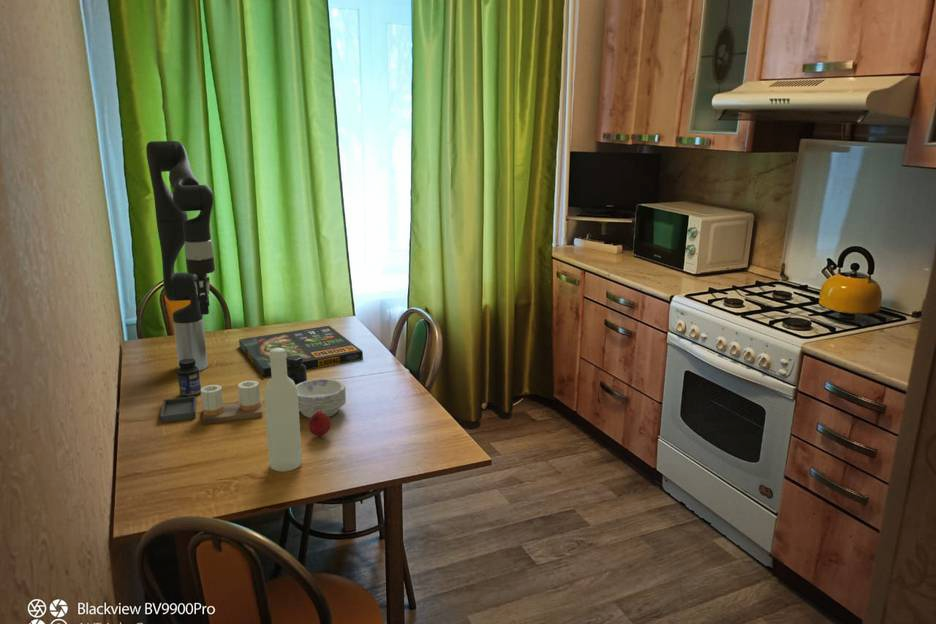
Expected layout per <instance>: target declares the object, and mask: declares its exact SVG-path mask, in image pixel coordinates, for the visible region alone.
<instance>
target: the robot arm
mask: <svg viewBox="0 0 936 624" xmlns="http://www.w3.org/2000/svg"><path fill="white" fill-rule="evenodd" d="M145 151H146V152H145V153H146V159H147V165H148V169H149V176H150V181H151V186H152V190H153V191H152V193H153V198H154V199H153V200H154V206H155V207H154V209H155V219H156V226H157V233H158V240H159V246H160V252H161V261H162V279H163V289H164V295H165V297H166V299H167V300H168V301H170V302H178V301H179V302H180V301H189V302H190V303H189V304H188V305H186V306H184V307H182V308H179V309H177V310H175V311H174V312H173V313H172V321H173V330H174V338H175V345H176V354H177V364H178V369H179V368H180V366H179V361H180V360H183V359H188V358H192V359H195V362H196V364H195V366H196V367H198V369H199V372H200V371H203V370H205V369H206V368H207V367H208V366H209V365H208V352H207V345H206V335H205V327H204V318H203V315H208V314H210V311H209V306H210V298H209V294H210V289H211V288H210V287H211V285H210V283H211V279H210V276H208V274H212V273H213V272H215V271H216V268H215V259H214V256H215V255H214V248H213V247H214V246H213V243H212V237H211V236H212V235H211V227H210V225H211V214H212V211H213V206H214V197H215V196H214V192H213V190H212V189H211V187H210V186H208V185H206V184H200V183H199V180H198V178H196V176H195V173H194V172H193V170H192V166H191V162H190V159H189V155H188V153H187V150H186V148H185V146H184V145H183V144H182V142H180V141H176V140H161V141H159V140H156V141H154V140H153V141H149V142H147V144H146V149H145ZM164 172H165V173H166V172H170V173H169V176H168V179H169V183H170V185H171V187H172V189H173V193H172V191H171V190H170V189H169V187H168V186H167V184H166V182H165V180H164V178H163V175H162V173H164ZM196 211H197V212H198V211H199V214H198V215H197V216H195V217H194V218H190V219H188V217H189V216H188V212H196ZM183 247H184V257H185V265H186V266H185V267H186V272H175V266H176V265H175V264H176V260H177V259H178V256H179V254H180V253H181V251H182V248H183Z"/></svg>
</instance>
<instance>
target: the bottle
mask: <svg viewBox="0 0 936 624" xmlns="http://www.w3.org/2000/svg"><path fill="white" fill-rule="evenodd" d="M286 356H287V354H286V350H285V349H283V348H274V349H272V350H270V356H269V358H270V362H271V375H272V376H271V378H270V379H269V380H268V381H267V382H266V384H265V387H264V391H263V398H264V400H263V402H264V409H265V411H264V413H265V424H266V435H267V447H268V462H269V467H270V469H271V470H273V471H275V472H281V473H282V472H291V471H293V470H296V469H297V468H299V467H300V466H301V465H302V464H303V450H302V441H301V425H300V411H299V407H298V393H297V387H296V385H295V383H294V381H293V380H292V379H290V378H289V377H288V376H287V364H286Z"/></svg>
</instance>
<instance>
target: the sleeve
mask: <svg viewBox="0 0 936 624" xmlns="http://www.w3.org/2000/svg"><path fill="white" fill-rule="evenodd" d="M222 387H223V386H222V385H218V384H208V385H205V386H202V387H201V393H200V396H201V405H202V406H201V407H202V415H203V414H205V415H217V414H220V413H222V412H223V411H224V406H223V403H224V397H223V390H222V389H223V388H222Z"/></svg>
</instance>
